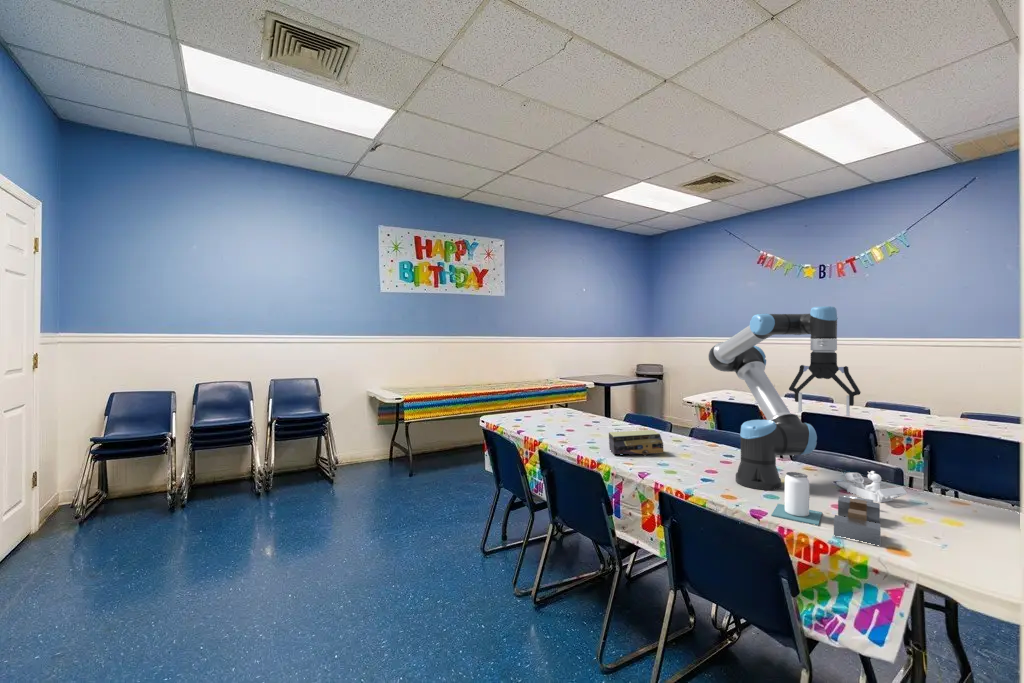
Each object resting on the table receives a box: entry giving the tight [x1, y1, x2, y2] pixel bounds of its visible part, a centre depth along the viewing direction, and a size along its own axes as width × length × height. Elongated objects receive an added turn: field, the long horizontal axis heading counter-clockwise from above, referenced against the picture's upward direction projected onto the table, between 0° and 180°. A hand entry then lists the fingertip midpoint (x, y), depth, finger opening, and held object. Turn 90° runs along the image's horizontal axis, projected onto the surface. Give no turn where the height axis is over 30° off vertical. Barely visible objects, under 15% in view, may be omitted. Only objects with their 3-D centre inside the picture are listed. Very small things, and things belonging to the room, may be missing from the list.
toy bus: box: [608, 429, 665, 456], centre depth 217 cm, size 10×23×10 cm, turn 91°
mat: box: [771, 503, 823, 526], centre depth 141 cm, size 12×12×1 cm
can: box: [784, 471, 810, 517], centre depth 141 cm, size 6×6×12 cm
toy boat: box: [836, 470, 908, 503], centre depth 159 cm, size 11×20×9 cm, turn 16°
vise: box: [833, 495, 882, 547], centre depth 135 cm, size 32×10×6 cm, turn 142°
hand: (823, 413), depth 157 cm, fingers open, 13 cm apart
